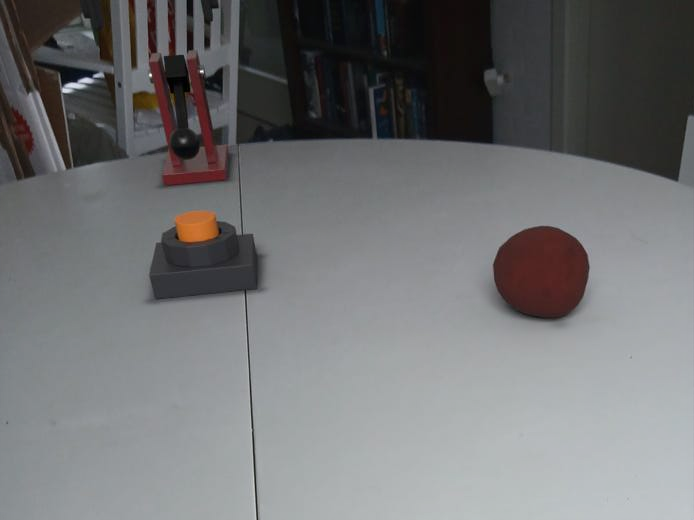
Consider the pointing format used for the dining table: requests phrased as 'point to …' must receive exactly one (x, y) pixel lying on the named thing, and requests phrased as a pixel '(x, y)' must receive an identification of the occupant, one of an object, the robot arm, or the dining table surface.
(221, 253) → the control block
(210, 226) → the button
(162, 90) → the red lever stand
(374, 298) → the dining table surface
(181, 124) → the black ball lever
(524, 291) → the potato
